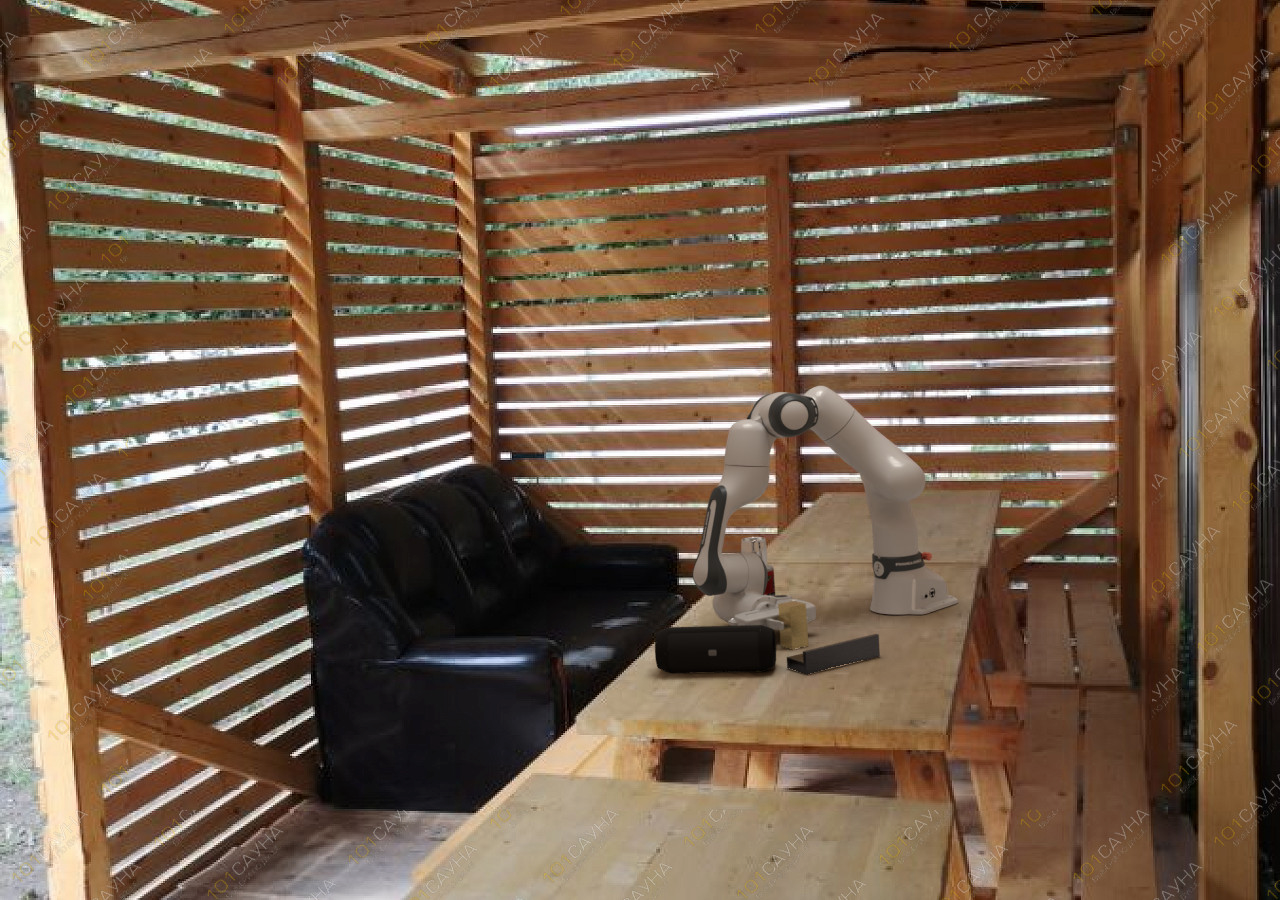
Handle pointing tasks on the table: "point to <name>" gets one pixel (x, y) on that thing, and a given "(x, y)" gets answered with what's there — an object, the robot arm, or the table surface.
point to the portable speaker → (715, 649)
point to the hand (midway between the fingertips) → (795, 623)
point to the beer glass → (755, 547)
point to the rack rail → (835, 654)
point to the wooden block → (793, 624)
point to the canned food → (770, 581)
